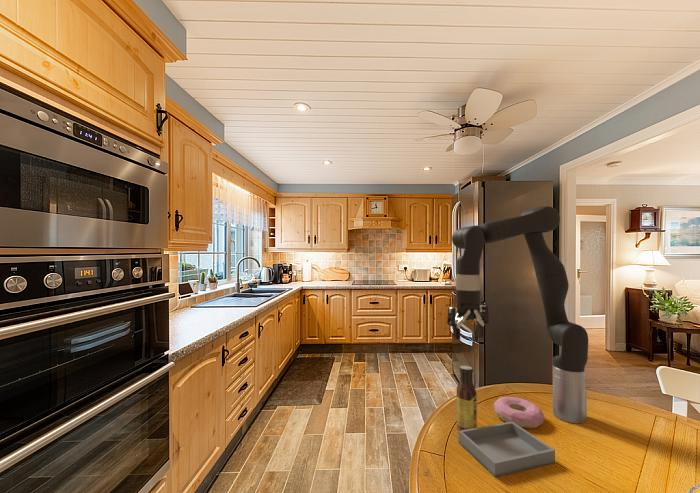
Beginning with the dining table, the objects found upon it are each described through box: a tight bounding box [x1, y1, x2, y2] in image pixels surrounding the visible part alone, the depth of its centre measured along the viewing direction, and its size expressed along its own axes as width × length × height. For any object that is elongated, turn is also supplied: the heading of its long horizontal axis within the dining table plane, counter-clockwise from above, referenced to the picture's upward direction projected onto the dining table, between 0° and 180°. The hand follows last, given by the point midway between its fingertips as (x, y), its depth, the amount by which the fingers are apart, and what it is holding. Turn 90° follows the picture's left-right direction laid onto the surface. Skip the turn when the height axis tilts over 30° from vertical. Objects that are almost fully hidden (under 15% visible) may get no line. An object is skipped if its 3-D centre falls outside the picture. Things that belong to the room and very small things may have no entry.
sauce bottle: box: [455, 365, 478, 431], centre depth 101 cm, size 6×6×20 cm
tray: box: [458, 422, 556, 478], centre depth 89 cm, size 20×15×4 cm
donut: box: [493, 396, 545, 429], centre depth 108 cm, size 16×15×5 cm
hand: (468, 338), depth 100 cm, fingers open, 8 cm apart
